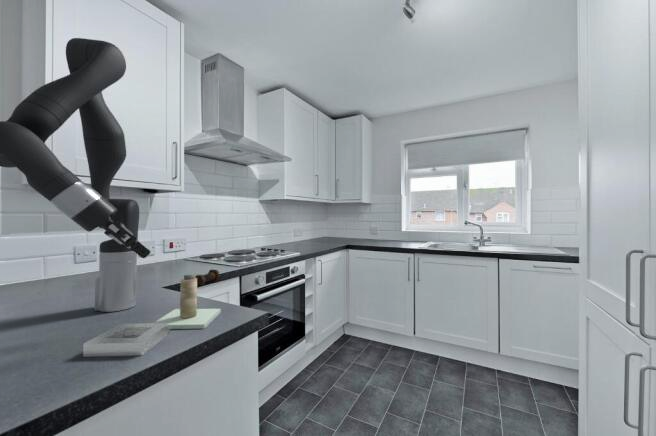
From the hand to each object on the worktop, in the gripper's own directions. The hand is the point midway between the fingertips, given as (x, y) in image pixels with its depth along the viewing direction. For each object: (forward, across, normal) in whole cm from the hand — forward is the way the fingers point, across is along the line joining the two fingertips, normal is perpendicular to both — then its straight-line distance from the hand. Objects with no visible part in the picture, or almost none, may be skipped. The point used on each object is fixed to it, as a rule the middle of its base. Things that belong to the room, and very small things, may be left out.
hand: (144, 253), depth 71 cm
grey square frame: (+10, -10, +16) cm, 21 cm away
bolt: (+33, +43, -6) cm, 55 cm away
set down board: (+20, -1, +6) cm, 21 cm away
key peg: (+19, -2, +5) cm, 20 cm away
